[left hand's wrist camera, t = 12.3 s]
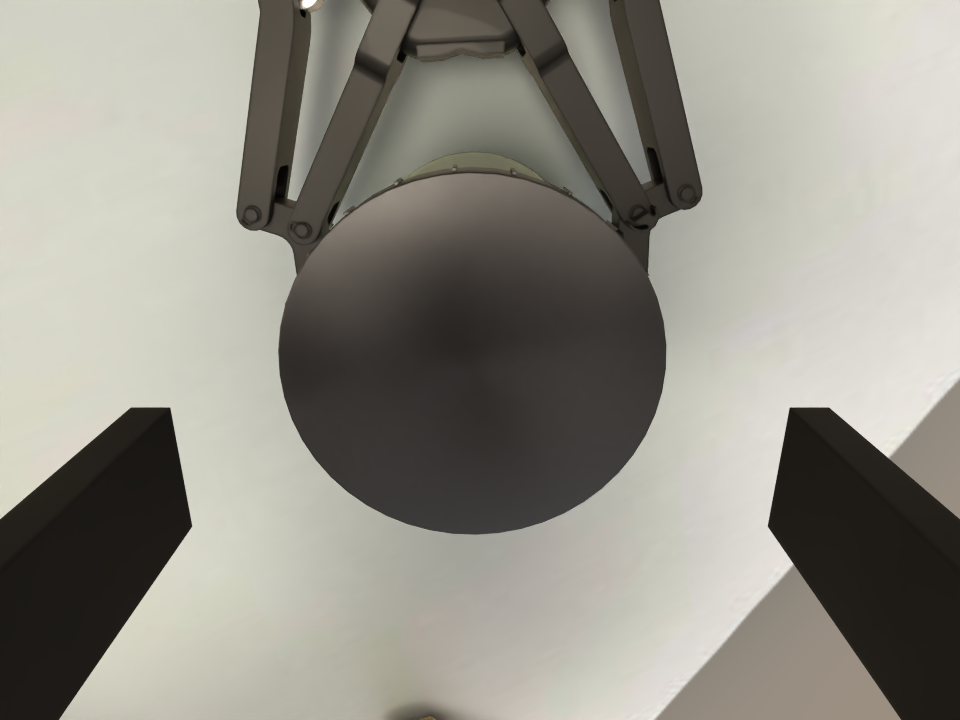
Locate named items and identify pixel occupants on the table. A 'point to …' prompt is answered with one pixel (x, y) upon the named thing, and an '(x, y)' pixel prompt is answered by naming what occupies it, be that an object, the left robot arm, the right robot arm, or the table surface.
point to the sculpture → (428, 718)
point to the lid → (472, 351)
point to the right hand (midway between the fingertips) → (478, 384)
